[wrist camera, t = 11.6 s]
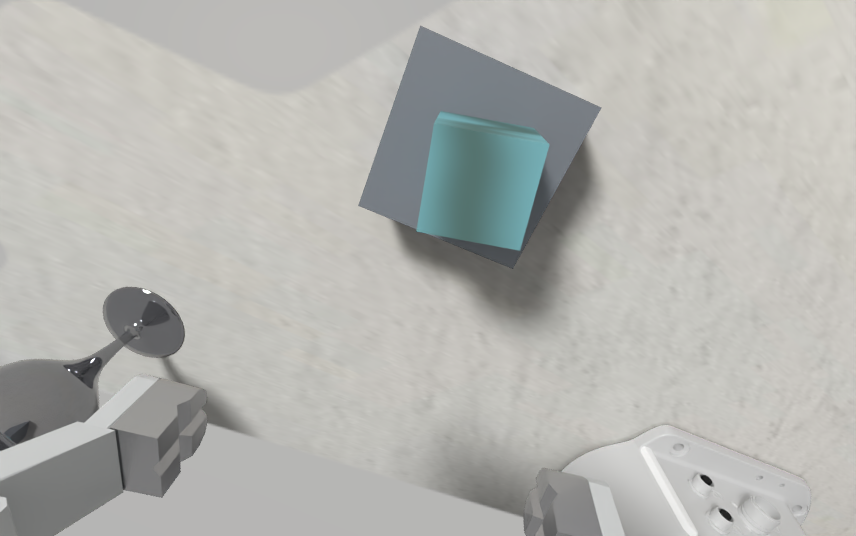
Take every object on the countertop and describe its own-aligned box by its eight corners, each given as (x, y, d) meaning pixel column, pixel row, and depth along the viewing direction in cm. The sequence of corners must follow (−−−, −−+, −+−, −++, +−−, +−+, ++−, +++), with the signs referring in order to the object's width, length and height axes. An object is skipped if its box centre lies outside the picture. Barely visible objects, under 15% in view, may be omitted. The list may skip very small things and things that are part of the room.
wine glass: (181, 288, 36) (11, 424, 23) (194, 366, 40) (53, 523, 26) (88, 277, 37) (-134, 403, 23) (109, 355, 40) (-74, 505, 27)
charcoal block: (576, 98, 28) (601, 107, 23) (505, 233, 32) (512, 268, 27) (430, 32, 27) (420, 25, 22) (377, 180, 31) (358, 205, 26)
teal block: (534, 128, 23) (549, 144, 19) (510, 216, 26) (519, 250, 21) (440, 110, 23) (434, 123, 19) (425, 201, 26) (416, 231, 21)
